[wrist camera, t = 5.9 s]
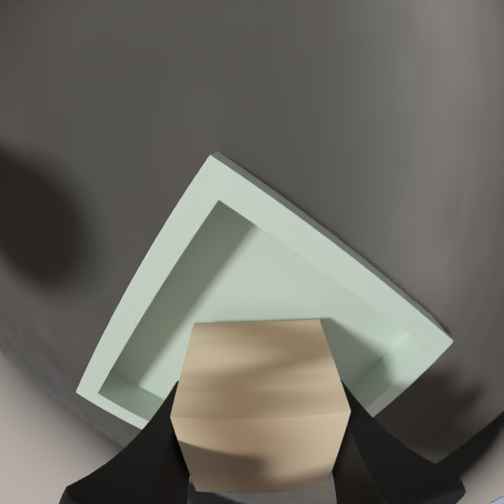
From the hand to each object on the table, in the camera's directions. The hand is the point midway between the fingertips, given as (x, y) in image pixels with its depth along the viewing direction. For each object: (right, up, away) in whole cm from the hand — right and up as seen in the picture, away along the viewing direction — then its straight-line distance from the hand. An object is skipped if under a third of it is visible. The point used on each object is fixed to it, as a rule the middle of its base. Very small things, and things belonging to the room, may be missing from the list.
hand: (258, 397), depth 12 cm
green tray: (0, +1, +3) cm, 3 cm away
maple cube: (0, +1, +2) cm, 2 cm away
